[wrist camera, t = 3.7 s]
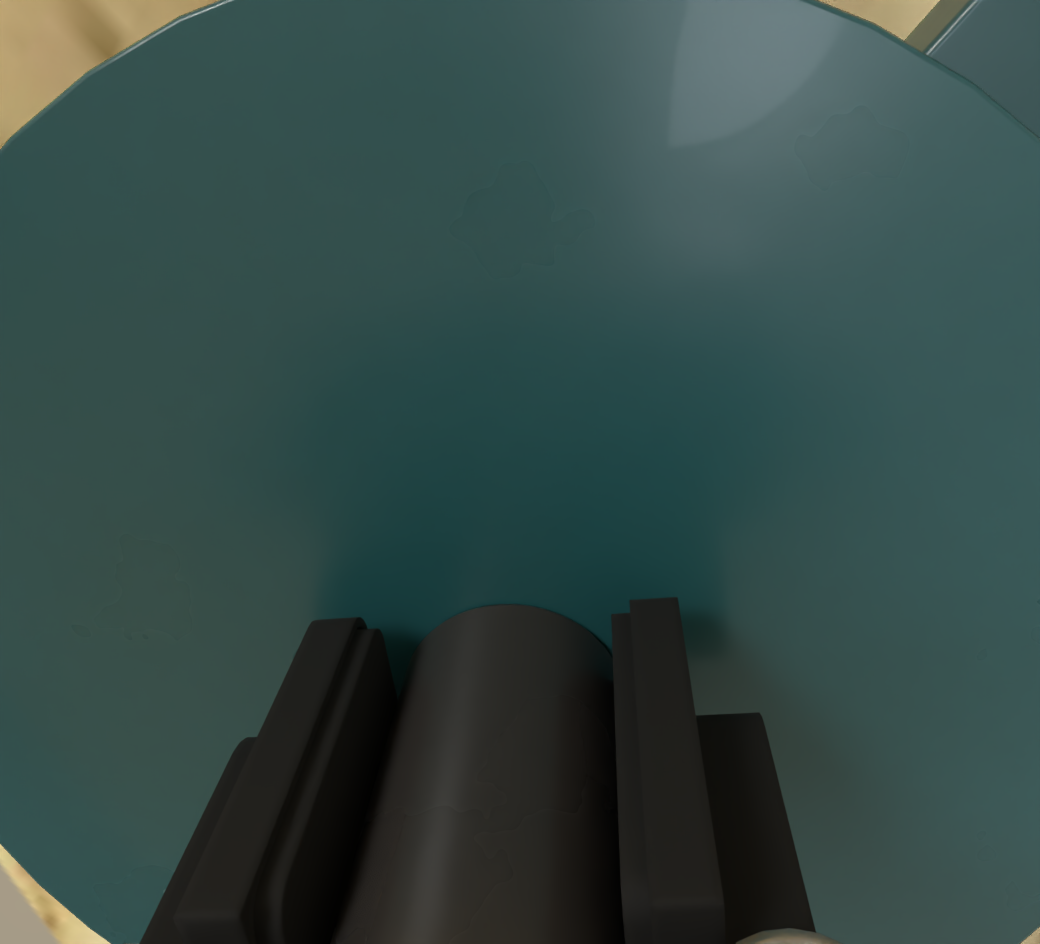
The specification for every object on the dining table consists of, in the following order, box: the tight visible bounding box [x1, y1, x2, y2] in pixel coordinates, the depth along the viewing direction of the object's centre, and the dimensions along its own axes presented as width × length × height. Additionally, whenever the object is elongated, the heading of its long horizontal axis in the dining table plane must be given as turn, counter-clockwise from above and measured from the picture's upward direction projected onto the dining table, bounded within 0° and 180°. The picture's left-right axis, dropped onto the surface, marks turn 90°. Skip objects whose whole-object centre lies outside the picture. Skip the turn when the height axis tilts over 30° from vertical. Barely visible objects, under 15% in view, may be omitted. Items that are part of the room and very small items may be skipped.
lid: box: [0, 0, 1040, 944], centre depth 9 cm, size 16×16×6 cm
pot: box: [904, 0, 1040, 138], centre depth 16 cm, size 15×20×10 cm
